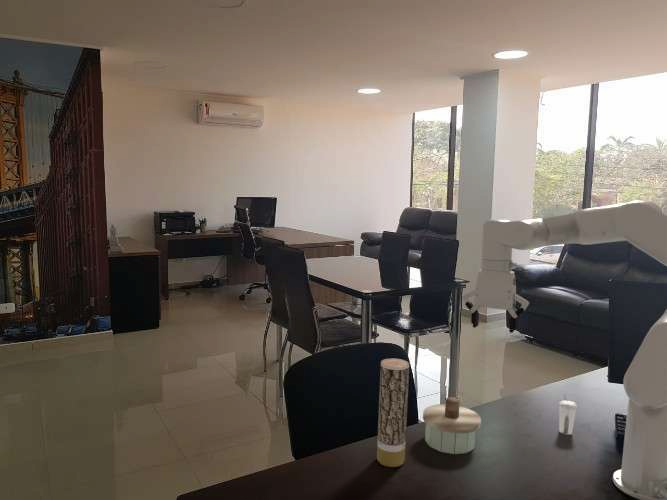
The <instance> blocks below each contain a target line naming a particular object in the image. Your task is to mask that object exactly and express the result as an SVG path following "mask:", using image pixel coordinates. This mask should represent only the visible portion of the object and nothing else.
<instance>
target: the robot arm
mask: <svg viewBox="0 0 667 500" xmlns="http://www.w3.org/2000/svg"><path fill="white" fill-rule="evenodd" d="M626 241H627V242H628V243H629V244H631V245H633V246H634V247H635V248H637V249H638V250H640V251H642V252H643V253H645V254H647V255H648V256H649V257H651V258H653V259H654V260H656V261H658V262H659V263H660V264H662V265H664V266H666V267H667V215H666V214H664V212H663V210H662V208H661V207H660V206H659V205H658V204H657V203H655V202H652V201H650V200H633V201H629V202H622V203H617V204H610V205H602V206H596V207H591V208H590V207H589V208H588V207H587V208H583V209H578V210H576V211H574V212H571V213H567V214H562V215H556V216H549V217H541V218H532V219H522V220H521V219H520V220H508V219H503V218H502V219H498V218H494V219H492V218H491V219H490V218H489V219H487V220H485V221H484V222H483V225H482V247H481V248H482V251H481V252H482V253H481V269H479V270H478V273H477V277H476V283H475V290H471V291H470V292H467V293H465V294H463V295H462V300H463V302H464V303H465V306H466V308H468V310H469V311H470V313H471V315H470V316H471V319H470V322H471V324H472V328H477V327H478V326H479V318H480V317H479V316H480V312H479V311H478V310H479V309H480V308H485V309H493V310H503V311H508V313H509V315H511V316H510V318H509V333H511V334H512V333H514V332H515V330H517V327H518V317H519V316H521V314H523V313H524V312H525V311H526V310H527V307H528V306H529V305H530V302H529V301H528V300H527V299H525V298H523V297H522V296H520V295H519V294H517V287H516V286H517V285H516V283H517V282H516V275H515V271H512V269H517V267H518V263H517V262H513V260H512V257H513V255H512V254H513V249H514V250H519V251H526V250H532V249H535V248H536V249H537V248H544V247H550V246H560V245H569V244H571V245H572V244H579V245H584V246H585V245H597V244H605V243H615V242H626ZM471 297H474V304H473V303H472V301H471V300H470V298H471ZM517 302H518V303H519V304H520V305H521V306H520V308H519V309H516V308H515V306H516V304H517ZM622 381H623V382H622V383H623V390H624V392H625V394H626V396H627V397H628V403H627V411H626V412H627V413H626V421H625V431H624V439H623V449H622V460H621V469H618V470H616V471H614V472H613V474H612V481H613V483H614V485H615V487H617V488H618V489H619V490H620V491H621V492H623V493H624V494H626V495H628V496H630V497H632V498H634V499H637V500H667V308H666V309H665V311H664V312H663V314H662V315H661V317H659V319H658V320H657V321H655V323H654V324H653V325H652V326H651V327H650V329H649V331H647V333H646V335H645V337H644V339H643V341H642V343H641V344H640V346H639V348H638V350H637V351H636V353H635V355H634V357H633V359H632V361H631V362H630V364H629V367H628V368H627V370H626V372H625V374H624V377H623V380H622Z"/></svg>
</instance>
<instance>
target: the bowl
mask: <svg viewBox="0 0 667 500" xmlns="http://www.w3.org/2000/svg"><path fill="white" fill-rule="evenodd" d="M476 431H477V430H476ZM476 431H473V432H470V433H449V432H444V431H440V430H437V429H435V428H433V427H431V426H429V425H428V424H426V423H425V430H424V441H425V443H426V444H427V445H428V446H429V447H430V448H432V449H434V450H435V451H438V452H441V453H446V454H452V455H459V454H468V453H469V452H471V451H473V450H474V449H475V447H476V446H475V445H476V443H475V442H476Z"/></svg>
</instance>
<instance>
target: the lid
mask: <svg viewBox="0 0 667 500" xmlns="http://www.w3.org/2000/svg"><path fill="white" fill-rule="evenodd" d="M460 400H461V399H459V398H457V397H451V396H450V397H446V398H445V402H444V403H440V404H439V403H438V404H434V405H433V404H432V405H429V406H428V407H426V408H424V410H423V412H422V420H423V421H424V423H425V425H426V424H428V425H429V426H431V427H433V428H435V429H437V430H440V431H444V432H449V433H470V432H473V431H478V430H479V429H480V428H481V426H482V425H481V424H482V418H481V416H480V415H479V414H478V412H476V411H474V410H472V409H470V408H468V407H464V406H462V405H461V406H460V404H461V403H460V402H461V401H460Z"/></svg>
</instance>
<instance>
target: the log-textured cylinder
mask: <svg viewBox="0 0 667 500" xmlns="http://www.w3.org/2000/svg"><path fill="white" fill-rule="evenodd" d="M379 375H380V377H379V394H378V395H379V397H378V398H379V399H378V419H377V420H378V421H377V425H378V426H377V442H376V444H377V445H376V446H377V447H376V449H377V450H376V459H377V462H378V463H379V464H380V465H382V466H384V467H386V468H387V467H388V468H396V467H397V468H398V467H400V466H402V465H403V464H404V462H405V460H406V458H405V457H406V438H407V422H408V420H407V418H408V417H407V416H408V400H409V399H408V398H409V396H408V395H409V377H410V376H409V375H410V363H409V362H408V361H406V360H404V359H400V358H385V359H382V360H381V361H380V374H379Z"/></svg>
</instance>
